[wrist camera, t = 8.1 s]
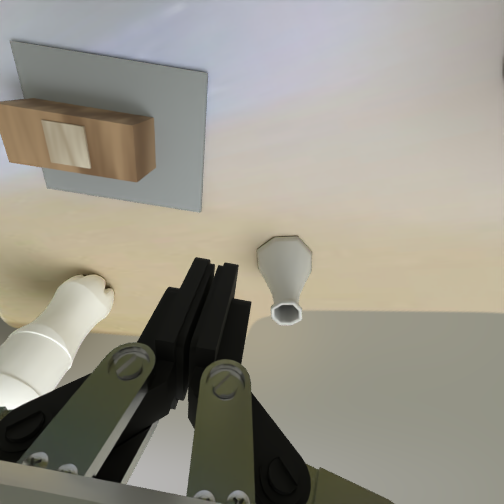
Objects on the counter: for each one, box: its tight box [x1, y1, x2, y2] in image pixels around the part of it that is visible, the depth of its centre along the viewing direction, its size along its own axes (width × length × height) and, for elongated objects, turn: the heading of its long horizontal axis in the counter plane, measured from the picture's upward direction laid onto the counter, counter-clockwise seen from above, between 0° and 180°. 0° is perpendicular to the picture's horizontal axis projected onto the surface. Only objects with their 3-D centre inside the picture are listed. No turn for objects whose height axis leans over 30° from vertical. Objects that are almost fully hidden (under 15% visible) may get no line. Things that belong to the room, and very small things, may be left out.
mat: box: [10, 41, 208, 212], centre depth 30 cm, size 18×14×1 cm
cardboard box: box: [0, 98, 156, 183], centre depth 28 cm, size 5×5×12 cm
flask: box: [257, 236, 312, 325], centre depth 33 cm, size 7×7×10 cm
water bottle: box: [0, 275, 114, 410], centre depth 31 cm, size 7×7×25 cm
